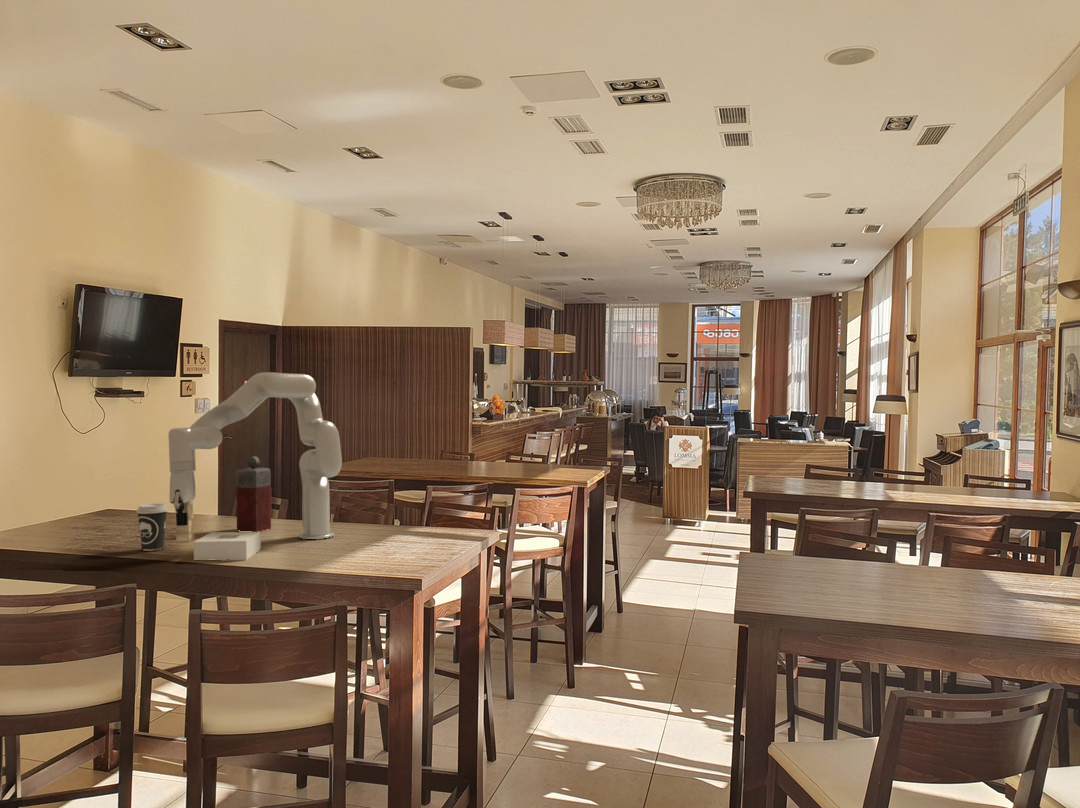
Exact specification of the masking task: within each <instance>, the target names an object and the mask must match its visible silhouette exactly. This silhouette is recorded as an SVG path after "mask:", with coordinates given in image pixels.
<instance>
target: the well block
mask: <svg viewBox="0 0 1080 808" xmlns="http://www.w3.org/2000/svg"><path fill="white" fill-rule="evenodd" d="M261 546H262V544H261V532H237V531H230V532H229V531H228V532H227V531H224V532H223V531H222V532H221V531H219V532H214V531H213V532H212V531H211V532H209V533H208V534H206V535H204V536H202V537H200V538H198V539H197V540H194V541H193V561H194V560H209V559H220V560H221V561H227V560H226V559H230V560H229V561H247V560H248V558H249V559H250V558H251V557H252V555H253V556H254V555H255V554H257V553H258V552H260V551H261V550H260V549H261V548H262V547H261ZM256 552H257V553H256Z"/></svg>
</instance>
